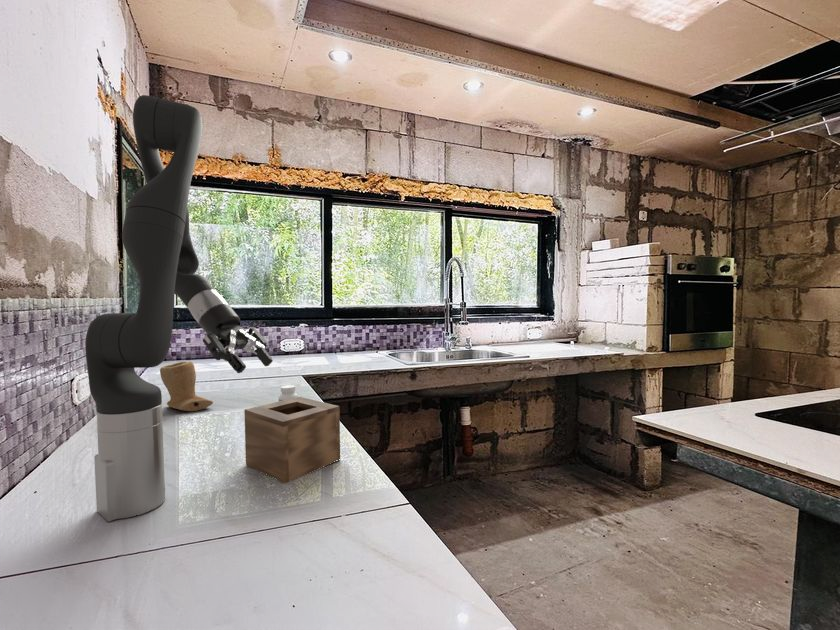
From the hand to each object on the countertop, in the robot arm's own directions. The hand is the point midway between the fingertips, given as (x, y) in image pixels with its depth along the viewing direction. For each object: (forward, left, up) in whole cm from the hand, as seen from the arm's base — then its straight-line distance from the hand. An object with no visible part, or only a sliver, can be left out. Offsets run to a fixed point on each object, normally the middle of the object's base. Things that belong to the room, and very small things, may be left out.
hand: (256, 367), depth 93 cm
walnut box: (+3, -8, -20) cm, 22 cm away
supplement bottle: (+21, +20, -21) cm, 35 cm away
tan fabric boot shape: (+8, +57, -21) cm, 61 cm away
